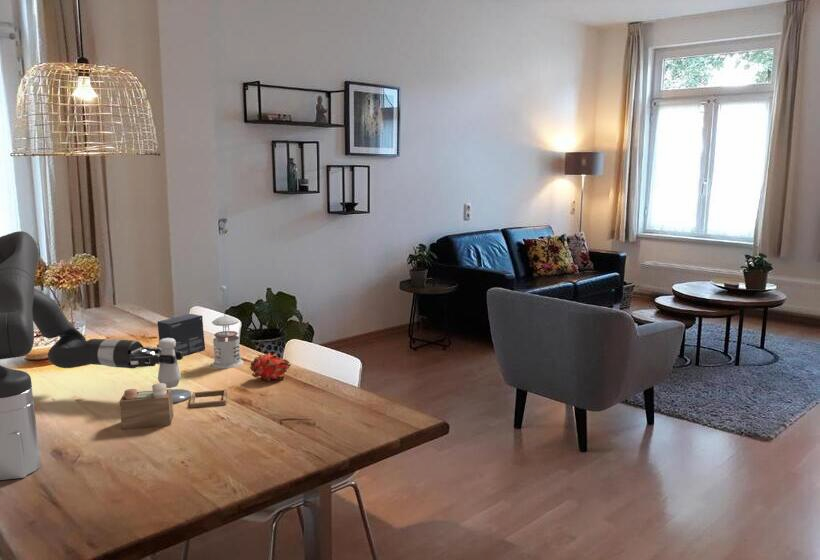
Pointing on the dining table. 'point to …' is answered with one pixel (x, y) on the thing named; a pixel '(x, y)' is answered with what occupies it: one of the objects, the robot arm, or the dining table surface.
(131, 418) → the caddy
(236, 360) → the french press
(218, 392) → the holder
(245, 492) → the dining table surface
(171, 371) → the salt shaker
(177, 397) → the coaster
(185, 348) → the small box
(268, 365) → the dragon fruit
